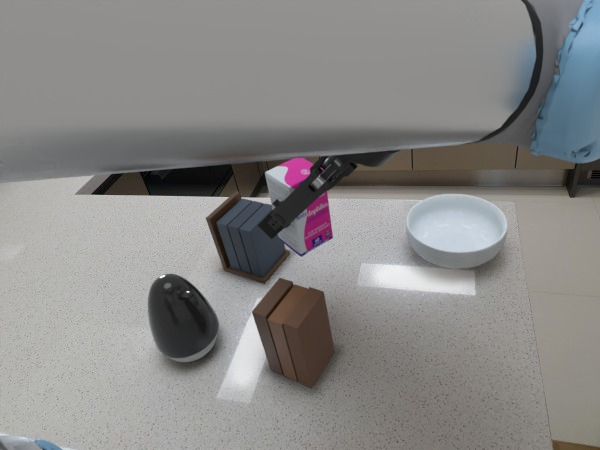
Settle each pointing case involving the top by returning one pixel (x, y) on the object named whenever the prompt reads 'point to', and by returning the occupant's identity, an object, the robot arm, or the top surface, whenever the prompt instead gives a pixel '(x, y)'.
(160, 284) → the dark grey egg shape
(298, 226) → the supplement box
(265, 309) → the brown books
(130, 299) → the top surface
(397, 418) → the top surface
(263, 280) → the slate books
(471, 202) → the cereal bowl
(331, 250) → the top surface
